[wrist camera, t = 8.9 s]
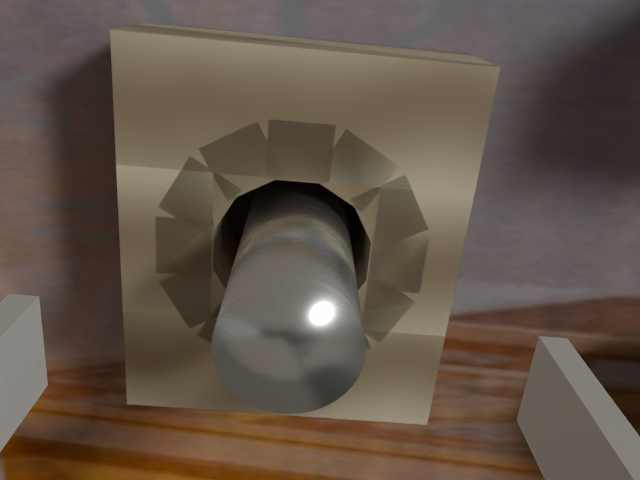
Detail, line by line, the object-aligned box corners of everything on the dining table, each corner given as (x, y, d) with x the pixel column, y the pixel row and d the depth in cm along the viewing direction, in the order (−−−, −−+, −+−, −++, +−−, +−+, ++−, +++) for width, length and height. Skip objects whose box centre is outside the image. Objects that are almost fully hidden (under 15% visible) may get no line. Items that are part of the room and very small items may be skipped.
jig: (411, 366, 27) (426, 424, 24) (152, 347, 27) (127, 404, 23) (469, 54, 22) (500, 67, 18) (145, 23, 21) (109, 29, 18)
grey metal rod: (340, 262, 25) (356, 419, 16) (247, 255, 25) (209, 408, 16) (351, 173, 24) (375, 289, 14) (252, 164, 23) (213, 276, 14)
